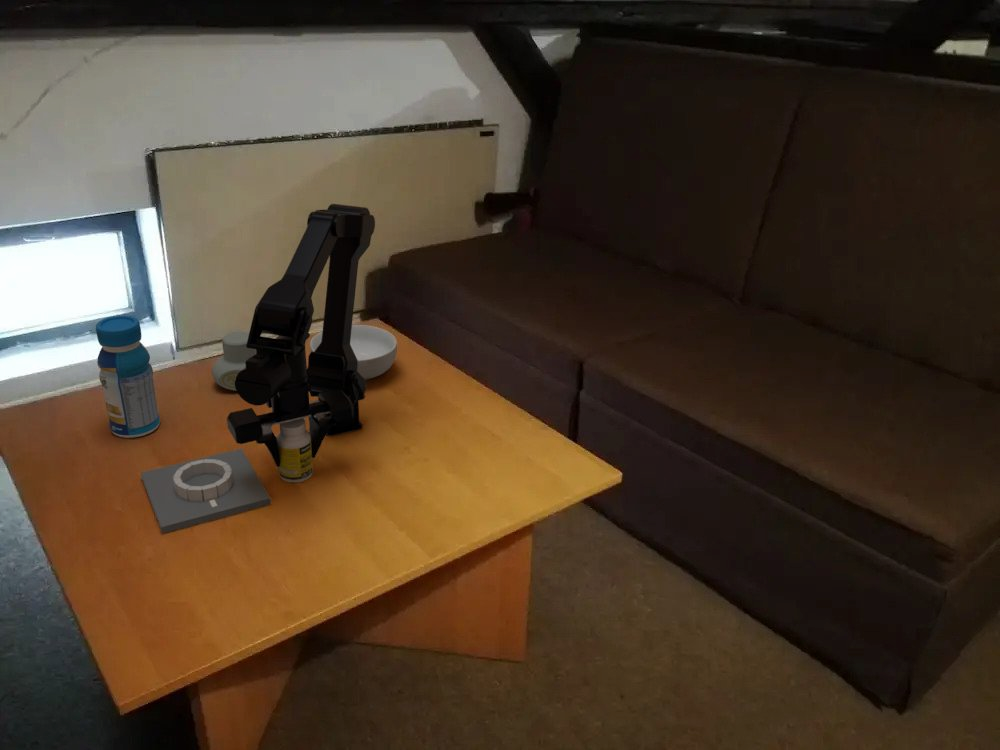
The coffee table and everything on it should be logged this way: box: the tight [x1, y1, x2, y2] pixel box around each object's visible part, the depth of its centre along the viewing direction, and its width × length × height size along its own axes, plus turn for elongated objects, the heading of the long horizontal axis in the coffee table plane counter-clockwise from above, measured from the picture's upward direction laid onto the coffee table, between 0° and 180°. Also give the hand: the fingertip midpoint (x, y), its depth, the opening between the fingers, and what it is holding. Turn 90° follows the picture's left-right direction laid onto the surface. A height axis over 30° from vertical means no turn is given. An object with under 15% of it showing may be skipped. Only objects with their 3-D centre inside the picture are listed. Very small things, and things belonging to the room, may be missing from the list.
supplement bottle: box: [276, 418, 314, 483], centre depth 139 cm, size 5×5×10 cm
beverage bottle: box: [95, 315, 161, 439], centre depth 148 cm, size 8×8×20 cm
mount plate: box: [140, 448, 272, 535], centre depth 135 cm, size 16×16×3 cm
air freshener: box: [211, 330, 256, 392], centre depth 166 cm, size 11×8×10 cm
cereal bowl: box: [309, 324, 398, 381], centre depth 172 cm, size 17×17×7 cm
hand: (295, 461), depth 140 cm, fingers closed on supplement bottle, 5 cm apart
